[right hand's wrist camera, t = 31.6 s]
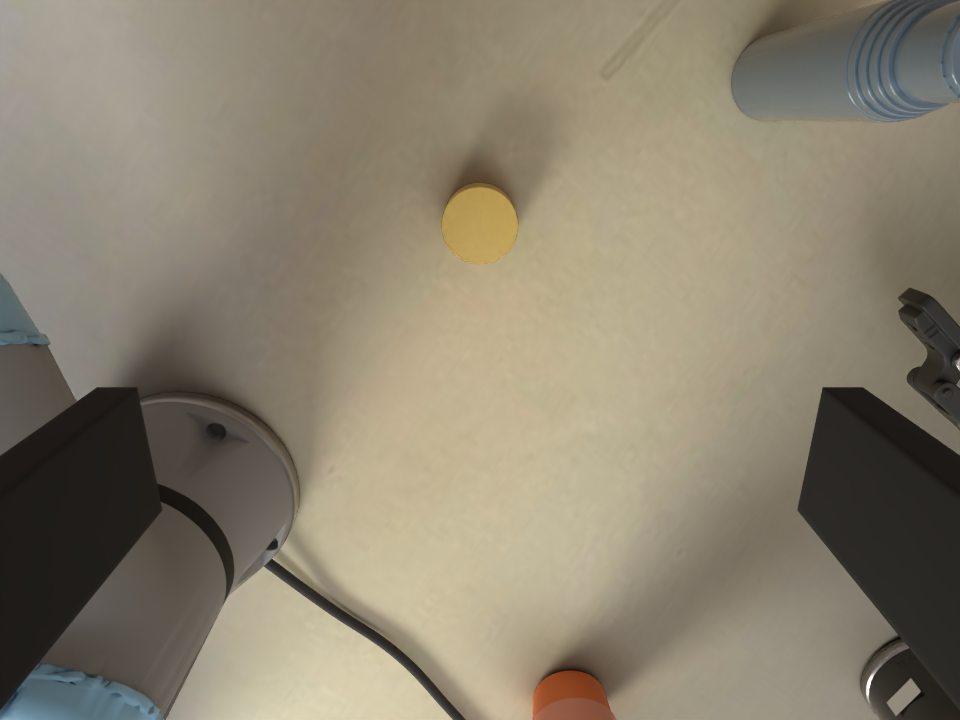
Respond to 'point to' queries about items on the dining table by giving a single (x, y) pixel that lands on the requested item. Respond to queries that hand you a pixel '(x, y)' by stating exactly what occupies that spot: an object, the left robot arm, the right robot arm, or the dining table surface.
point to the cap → (479, 223)
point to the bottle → (855, 65)
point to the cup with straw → (571, 698)
